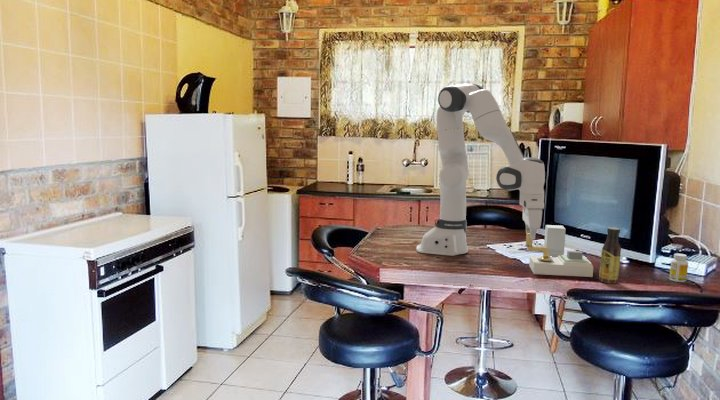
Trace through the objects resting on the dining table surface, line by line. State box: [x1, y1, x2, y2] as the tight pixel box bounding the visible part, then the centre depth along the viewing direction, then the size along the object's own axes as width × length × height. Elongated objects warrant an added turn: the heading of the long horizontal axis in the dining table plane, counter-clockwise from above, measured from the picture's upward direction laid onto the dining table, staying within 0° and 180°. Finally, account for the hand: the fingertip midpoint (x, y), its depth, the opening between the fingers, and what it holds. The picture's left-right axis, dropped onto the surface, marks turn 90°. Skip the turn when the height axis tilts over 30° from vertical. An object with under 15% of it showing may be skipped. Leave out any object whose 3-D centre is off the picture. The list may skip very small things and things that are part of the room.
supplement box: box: [543, 224, 566, 258], centre depth 232 cm, size 7×7×13 cm
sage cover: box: [561, 250, 589, 263], centre depth 207 cm, size 8×8×4 cm
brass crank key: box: [525, 232, 551, 262], centre depth 209 cm, size 10×4×10 cm, turn 82°
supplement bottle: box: [668, 253, 689, 283], centre depth 198 cm, size 5×5×10 cm
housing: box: [528, 255, 594, 278], centre depth 208 cm, size 21×11×5 cm, turn 82°
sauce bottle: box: [598, 226, 622, 285], centre depth 195 cm, size 7×6×20 cm
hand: (530, 236), depth 208 cm, fingers open, 8 cm apart
